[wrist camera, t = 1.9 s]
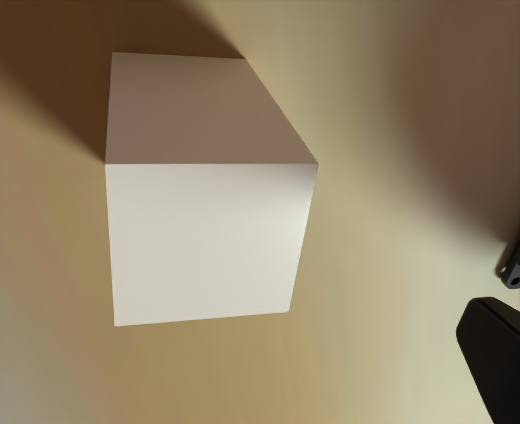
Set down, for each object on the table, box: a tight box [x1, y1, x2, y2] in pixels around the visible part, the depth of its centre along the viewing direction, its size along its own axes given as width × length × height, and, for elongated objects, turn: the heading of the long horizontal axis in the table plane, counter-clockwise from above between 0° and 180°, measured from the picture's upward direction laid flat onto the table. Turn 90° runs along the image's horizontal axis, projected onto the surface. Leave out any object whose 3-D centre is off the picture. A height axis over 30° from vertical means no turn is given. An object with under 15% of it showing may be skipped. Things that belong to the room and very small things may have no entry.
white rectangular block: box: [105, 52, 318, 326], centre depth 13 cm, size 4×4×7 cm
